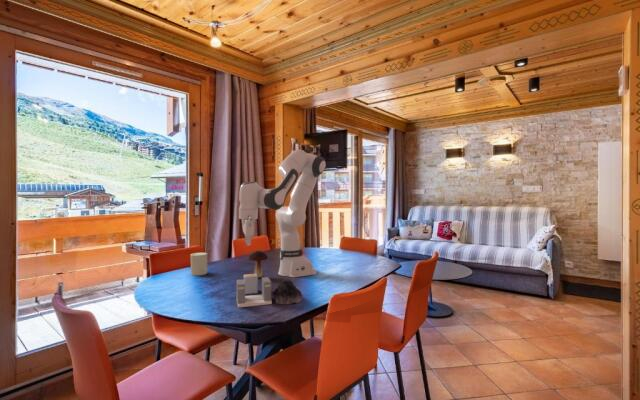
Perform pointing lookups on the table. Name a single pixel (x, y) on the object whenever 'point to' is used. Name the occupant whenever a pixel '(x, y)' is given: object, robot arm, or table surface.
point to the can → (198, 264)
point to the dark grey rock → (287, 293)
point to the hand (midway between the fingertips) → (247, 243)
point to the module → (251, 283)
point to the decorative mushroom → (258, 261)
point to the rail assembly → (254, 299)
